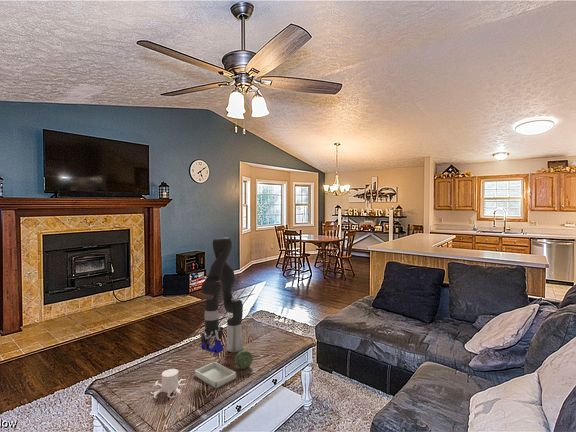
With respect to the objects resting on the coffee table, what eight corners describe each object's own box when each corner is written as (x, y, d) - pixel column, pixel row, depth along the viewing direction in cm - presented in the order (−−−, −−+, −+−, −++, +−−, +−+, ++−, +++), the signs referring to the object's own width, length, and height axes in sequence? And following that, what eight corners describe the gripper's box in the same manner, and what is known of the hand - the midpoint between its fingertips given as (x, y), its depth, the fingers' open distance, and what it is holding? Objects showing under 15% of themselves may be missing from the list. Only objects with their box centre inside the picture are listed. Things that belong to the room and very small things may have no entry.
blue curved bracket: (223, 350, 173) (223, 339, 173) (217, 353, 169) (217, 342, 169) (207, 345, 179) (207, 335, 179) (201, 348, 175) (201, 338, 175)
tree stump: (195, 379, 172) (195, 364, 172) (178, 400, 153) (178, 384, 152) (161, 376, 175) (161, 362, 175) (140, 397, 156) (140, 380, 155)
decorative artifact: (251, 365, 187) (251, 348, 186) (254, 370, 180) (254, 353, 180) (234, 368, 183) (234, 351, 183) (237, 374, 176) (237, 356, 176)
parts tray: (215, 366, 185) (215, 361, 185) (236, 378, 172) (236, 372, 172) (194, 375, 175) (194, 370, 175) (215, 388, 162) (215, 383, 162)
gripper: (218, 313, 182) (218, 342, 182) (196, 319, 171) (196, 350, 171) (226, 316, 177) (226, 346, 177) (204, 322, 166) (204, 354, 166)
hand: (211, 348), depth 174 cm, fingers closed on blue curved bracket, 5 cm apart
